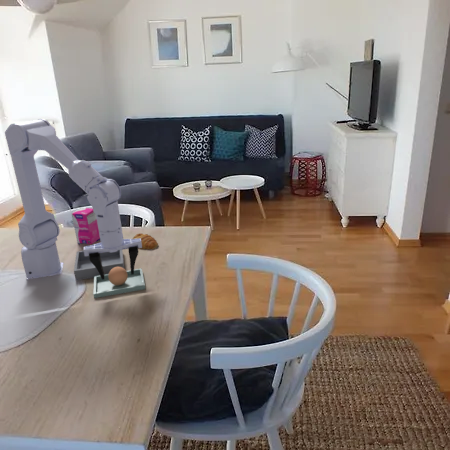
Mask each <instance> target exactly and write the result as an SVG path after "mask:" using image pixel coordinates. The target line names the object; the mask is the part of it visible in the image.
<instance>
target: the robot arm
mask: <svg viewBox="0 0 450 450" xmlns="http://www.w3.org/2000/svg"><path fill="white" fill-rule="evenodd" d="M4 136H5V139H6V144H7V147H8V152H9V155H10V158H11V162H12V166H13V170H14V174H15V175H14V176H15V178H16V183H17V186H18V191H19V195H20V198H21V202H22V207H23V212H24V214H23V216H22V217H21V219H20V220H19V222H18V229H19V230H18V239H19V242H20V243H21V244H22V246H23V247H21V251H20V253H21V261H22V265H23V269H24V272H25V277H26V278H28V280H33V279H38V278H44V277H52V276H57V275H58V276H59V275H61V274H63V273H62V272H63V267H64V262H62V261H61V260H60V256H59V251H58V248H57V246H58V245H57V241H58V236H60V231H61V230H60V226H59V224H58V222H57V221H56V217H55V214H54V213H52V212H49V211H48V210H47V209H46V206H45V200H44V197H43V196H44V195H43V191H42V187H41V183H40V180H39V175H38V174H39V173H38V170H37V166H36V160H35V154H37V152H38V151H45V152H46V153H47V154H49V155H50V156H51V157H53V158H54V159H55V160H56V161H58V162H59V163H60V164H61V165H62V166H63V167H65V168H66V169H67V171H68V177H69V178H70V179H71V180H72V181H73V182H74V183H76V185H77V186H79V188H81V189H82V190H83V191H84V192H85V193H86V194H87V196H86V199H87V201H88V203H89V205H90V206H91V207H92V209H93V211H94V212H95V214H96V218H97V224H98V229H99V235H100V240H99V241H100V242H98V243H93V244H89V245H86V246H83V251H84V255H85V256H89V257H90V258H89V259H90V261H91V263H92V264H93V265H94V266H95V267H96V269H97V270H98V272H99V274H100V276H101V279H104V271H103V267H102V263H101V256H100V253H104V252H110V253H112V252H117V251H118V250H122V251H123V250H128V256H129V263H130V264H129V266H130V268H129V269H130V270H131V275H132V274H134V270H135V264H136V261H137V258H138V255H139V249H140V248H142V243H141V238H139V239H133V238H124V234H123V228H122V223H121V215H120V208H119V200H120V199H121V197H122V189H121V187H120V185H119V184H118V183H117V181H116V180H115V179H113V178H108V177H106V176H103V175H102V173H101V174H100V172H98V171H97V169H96V168H94V167H93V166H92V164H91V163H90V162H89V161H87V160H84V159H82V160H80V159H78V158H77V156H76V155H75V154H74V153H72V151H71V150H70V149H69V148H68V146H67V145H65V143H64V142H62V141H63V140H61V139H60V138H59V137H58V135H57V131H56V128H55V127H54V126H53V125H52V124H51V123H50V122H49V121H48V120H47V119H44V118H38V119H35V120H29V121H24V122H19V123H11V124H10V125H9V126H8V127H7V129H6V130H5V131H4ZM32 277H33V278H32Z"/></svg>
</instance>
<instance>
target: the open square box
mask: <svg viewBox="0 0 450 450" xmlns="http://www.w3.org/2000/svg"><path fill="white" fill-rule="evenodd" d="M100 256H101V263H102V267H103V271H104V275H105V274H109V272H110V270H111V269H113V268H114V267H122V268H124V269H125V262H124V252H123V250H118V251H117V252H112V253H110V252H104V253H100ZM89 258H90V257H89V256H85V255H84V250H77V251H76V254H75V260H74V261H75V262H74V268H73V274H74V279H75V281H79V280H86V279H94V276H99V275H100V274H99V272H98V270H97V269H96V267H95V266H94V265H93V264H92V263H91V261H90V259H89Z"/></svg>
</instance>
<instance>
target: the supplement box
mask: <svg viewBox="0 0 450 450" xmlns="http://www.w3.org/2000/svg"><path fill="white" fill-rule="evenodd" d="M71 218H72V222H73V227H74V233H75V237H76V241H77V242H76V243H77V245H83V244H85V245H94V244H95V243H96V242H99V241H100V235H99V229H98V224H97V218H96V214H95V212H94V211H93V207H92V208H90V207H89V208H88V207H80V208H79V209H76V210H75V211H73V212H71Z"/></svg>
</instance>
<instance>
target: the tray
mask: <svg viewBox="0 0 450 450" xmlns="http://www.w3.org/2000/svg"><path fill="white" fill-rule="evenodd" d="M126 271H127V274H128V277H127V280H126V282H125V283H124V284H122V285H113V284H112V283H111V282H110V281H109V278H108V275H109V274H105V275H104V279H101V276H100V275H99V276H94V278H93V294H92V295H93V299H97V298H103V297H109V296H115V295H120V294H126V293H133V292H138V291H144V290H146V284H145V278H144V273H143V269H142V268H134V274H132V275H131V269H130V270H126Z"/></svg>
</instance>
